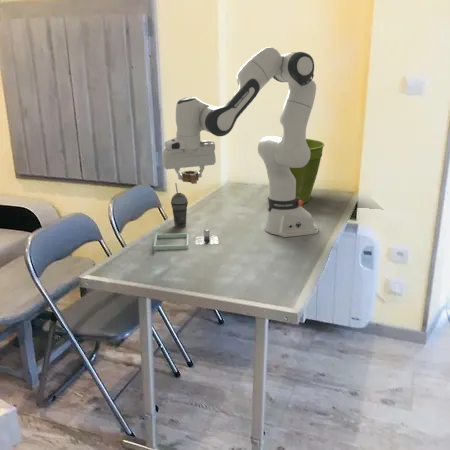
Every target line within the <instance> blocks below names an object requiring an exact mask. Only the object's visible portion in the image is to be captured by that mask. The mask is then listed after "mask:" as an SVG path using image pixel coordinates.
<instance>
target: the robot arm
mask: <svg viewBox="0 0 450 450" xmlns="http://www.w3.org/2000/svg"><path fill="white" fill-rule="evenodd" d="M314 73H315V62H314V59H313V56H311V55H310V54H309V53H306V52H304V51H297V52H296V51H295V52H288V53H283V54H281V53H280V52H279V51H278V50H277V49H275V48H274V47H271V46H267V47H264V48H263V49H261V50H260V51H258V52H257V53H255V54H254V55H252V56H251V58H249V59H248V60H247V61H246V62H245V63H244V64H242V66H241V67H240V68H239V70H238V72H237V74H236V81H237V85H238V87H239V88H238V90H237V91H236V92H235V93H234V94H233V96H232V97H231V98H230V99H229V100H228V101H227V102H226V103H225V104H224V105H222V106H215V105H211V104H208V103H205V102H203V101H202V100H200V99H199V98H197V97H196V96H186V97H183V98H181V99H179V100H178V101H177V103H176V106H175V124H176V128H177V129H176V133H175V134H176V137H173V138H171V139H168V140H167V141H164V149H163V153H162V161H161V162H162V167H163V169H165V170H174V172H176V174H177V178H178V180H182V179H183V175H182V174H181V173H180V171H181V169H185V168H194V167H198V168H199V170H198V171H197V172H198V176H199V178H202V176H203V174H202V173H203V172H204V170H205V166H214V165H215V164H216V153H215V151H216V143H215V142H214V141H212V140H201V131H206V132H207V133H210V134H212V135H213V136H216V137H224V136H226V135H229V133H230V132H231V131H232V130H233V129H234V126H235V124H236V122H237V120H238V118H239V117H240V116H241V114H243V112H245V110H246V109H247V108H248V106H249V105H250V104H251V103H252V102H253V101H254V100H255V98H256V97H257V96H258V94H259V93H260V91H261V90H262V89H263V88H264V87H265V86H266V84H268V83H269V82H270V81H271V80H272V78H273V79H274V80H275V81H277V82H280V83H288V93H287V95H286V98H285V102H284V104H283V107H282V110H281V113H280V117H279V122H280V124H281V126H282V128H283V135H282V136H277V135H269V136H264V137H262V138H261V139H260V141H259V142H258V145H257V146H258V147H257V153H258V155H259V157H260V158H261V160H262V161H263V163H264V165H265V169H266V174H267V173H268V174H267V179H268V178H269V179H268V197H267V218H266V222H265V226H264V231H265V232H267V233H268V234H272V235H277V236H280V237H283V238H287V237H288V238H289V237H297V236H307V235H316V234H318V233H319V227H318V225H317V224H316V223H315V222H314V220H313V216H312V214H311V213H310V212H309V211H307V210H306V209H305V208H303V205H304V203H303V202H302V200H300V199H299V198H298V197H296V179H295V177H294V175H293V174H292V173H291V171H290V168H301V167H304V166H305V165H306V164H307V163H308V161H309V159H310V149H309V147H308V145H307V142H306V139H307V136H306V135H307V126H308V122H309V119H310V116H311V112H312V110H313V107H314V103H315V98H316V95H317V93H316V92H317V84H316V82H315V81H314V79H313V78H314V76H315V75H314ZM289 167H290V168H289Z"/></svg>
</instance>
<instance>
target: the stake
mask: <svg viewBox="0 0 450 450" xmlns="http://www.w3.org/2000/svg"><path fill="white" fill-rule="evenodd" d="M210 234H211V233H210V229H209V228H207V229H206V228H205V229H204V230H203V235H201V236H199V235H197V236H196V235H195V246H197V245H201V246H202V245H219V236H218V235H210Z"/></svg>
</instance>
